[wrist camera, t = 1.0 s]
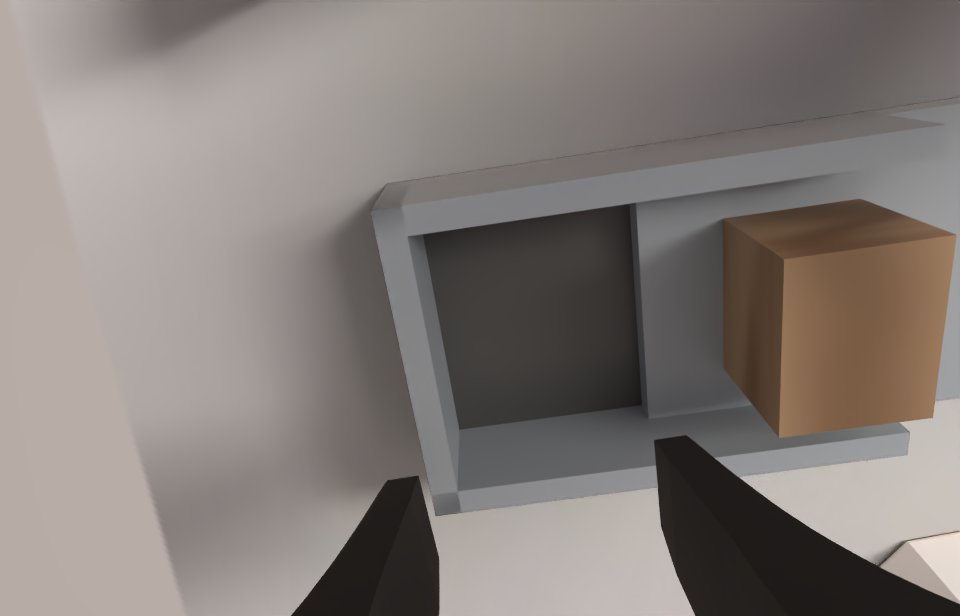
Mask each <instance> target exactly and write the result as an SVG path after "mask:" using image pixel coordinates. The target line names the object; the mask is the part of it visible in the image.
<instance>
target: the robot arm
mask: <svg viewBox="0 0 960 616" xmlns="http://www.w3.org/2000/svg"><path fill="white" fill-rule="evenodd" d="M654 447H655V459H656V471H657V483H658V495H659V507H660V519H661V527H662V531H663V534H664V537H665V540H666V543H667V546H668V549H669V553H670V556H671V559H672V562H673V565H674V567H675V570H676V573H677V576H678V578H679V581H680V583H681V585H682V587H683V590H684V592H685V594H686V596H687V598H688V600H689V603H690V605H691V607H692V609H693V611H694V614H695V616H960V604H959V603H956V602H954V601H952V600H949V599H947V598H945V597H942V596H940V595H938V594H935V593H933V592H931V591H929V590H926V589H924V588H922V587H920V586H918V585H916V584H914V583H912V582H910V581H907V580H905V579H903V578H901V577H899V576H897V575H895V574H893V573H890V572H888V571H886V570H884V569H882V568H881V567H879V566H877V565H875V564H873V563H871V562H869V561H867V560H865V559H863V558H861V557H860V556H858V555H856V554H854V553H852V552H851V551H849V550H847V549H845V548H843V547H842V546H840V545H838V544H836V543H835V542H833V541H831V540H829V539H828V538H826V537H824V536H823V535H821V534H819V533H818V532H816V531H814V530H813V529H811V528H809V527H808V526H806V525H805V524H803V523H802V522H800V521H799V520H797V519H796V518H794V517H793V516H791V515H790V514H788V513H787V512H785V511H784V510H782V509H781V508H779V507H778V506H777V505H775V504H774V503H772V502H771V501H770V500H768V499H767V498H766V497H764V496H763V495H762V494H760V493H759V492H757V491H756V490H755V489H753V488H752V487H751V486H749V485H748V484H747V483H745V482H744V481H743V480H742V479H740V478H739V477H738V476H736V475H735V474H734V473H733V472H731V471H730V470H729V469H728V468H726V467H725V466H724V465H723V464H721V463H720V462H719V461H718V460H717V459H715V458H714V457H713V456H712V455H710V454H709V453H708V452H707V451H706V450H704V449H703V448H702V447H701V446H700V445H698V444H697V443H696V442H695V441H694V440H692V439H691V438H690V437H688V436H687V435H683V436H676V437H670V438H663V439H657V440H654ZM291 616H439V556H438V552H437V548H436V544H435V540H434V536H433V532H432V528H431V524H430V520H429V516H428V512H427V508H426V504H425V500H424V496H423V492H422V488H421V484H420V480H419V476H413V477H407V478H400V479H394V480H388V481H387V482H386V483H385V485H384V486H383V487H382V489H381V490H380V492H379V493H378V495H377V497H376V498H375V500H374V501H373V503H372V505H371V506H370V508H369V509H368V511H367V513H366V514H365V516H364V517H363V519H362V520H361V522H360V523H359V525H358V526H357V528H356V530H355V531H354V533H353V534H352V535H351V537H350V538H349V540H348V541H347V543H346V544H345V546H344V547H343V549H342V550H341V551H340V553H339V554H338V556H337V557H336V559H335V560H334V562H333V563H332V564H331V566H330V567H329V568H328V570H327V571H326V572H325V574H324V575H323V576H322V577H321V579H320V580H319V581H318V583H317V584H316V585H315V587H314V588H313V589H312V591H311V592H310V593H309V594H308V596H307V597H306V598H305V599H304V601H303V602H302V603H301V604H300V606H299V607H298V608H297V609H296V610H295V612H294V613H293V614H292V615H291Z"/></svg>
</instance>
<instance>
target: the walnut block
mask: <svg viewBox="0 0 960 616" xmlns="http://www.w3.org/2000/svg"><path fill="white" fill-rule="evenodd" d="M956 237H957V235H956V234H953V233H951V232H948V231H945V230H943V229H940V228H937V227H935V226H932V225H929V224H927V223H924V222H922V221H919V220H916V219H914V218H911V217H908V216H906V215H903V214H900V213H898V212H895V211H892V210H890V209H887V208H884V207H882V206H879V205H876V204H874V203H871V202H868V201H866V200H863V199H854V200H847V201H840V202H833V203H827V204H820V205H813V206H806V207H799V208H792V209H785V210H779V211H772V212H765V213H758V214H751V215H744V216H738V217H731V218H724V219H723V326H724V370H725V371H726V372H727V373H728V375H729V376H730V377H731V378H732V380H733V381H734V382H735V383H736V385H737V386H738V387H739V388H740V390H741V391H742V392H743V393H744V395H745V396H746V397H747V398H748V400H749V401H750V402H751V403H752V405H753V406H754V407H755V408H756V410H757V411H758V412H759V413H760V415H761V416H762V417H763V418H764V420H765V421H766V422H767V423H768V425H769V426H770V427H771V428H772V430H773V431H774V432H775V433H776V435H777V436H778V437H779V438H782V437H790V436H797V435H805V434H813V433H820V432H828V431H835V430H843V429H851V428H858V427H866V426H873V425H881V424H889V423H896V422H904V421H911V420H919V419H927V418H933V412H934V404H935V397H936V389H937V382H938V374H939V366H940V359H941V351H942V343H943V336H944V328H945V321H946V313H947V305H948V298H949V290H950V283H951V275H952V267H953V260H954V252H955V244H956Z"/></svg>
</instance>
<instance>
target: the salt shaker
mask: <svg viewBox="0 0 960 616" xmlns="http://www.w3.org/2000/svg"><path fill="white" fill-rule="evenodd" d="M879 567H881V568H882V569H884V570H886V571H888V572H890V573H893V574H895V575H897V576H899V577H901V578H903V579H905V580H907V581H910V582H912V583H914V584H916V585H918V586H920V587H922V588H924V589H926V590H929V591H931V592H933V593H935V594H938V595H940V596H942V597H945V598H947V599H949V600H952V601H954V602H956V603H959V604H960V532H955V533H949V534H943V535H938V536H932V537H927V538H921V539H916V540H910V541H906V542H905V543H904V544H903V545H902V546H901V547H900V548H899V549H898V550H897V551H896V552H894V553H893V554H892V555H891V556H890V557H889V558H888V559H887V560H886V561H885V562H884V563H882V564H881V565H880V566H879Z"/></svg>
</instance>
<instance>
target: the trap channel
mask: <svg viewBox="0 0 960 616" xmlns="http://www.w3.org/2000/svg"><path fill="white" fill-rule="evenodd" d="M854 199H863V200H866V201H868V202H871V203H874V204H876V205H879V206H882V207H884V208H887V209H890V210H892V211H895V212H898V213H900V214H903V215H906V216H908V217H911V218H914V219H916V220H919V221H922V222H924V223H927V224H929V225H932V226H935V227H937V228H940V229H943V230H945V231H948V232H951V233H953V234H956V235H957V237H956V244H955V252H954V260H953V267H952V275H951V283H950V290H949V298H948V305H947V313H946V321H945V328H944V336H943V343H942V351H941V359H940V366H939V374H938V382H937V389H936V397H935V401H942V400H949V399H957V398H960V97H958V98H951V99H944V100H938V101H931V102H925V103H918V104H911V105H905V106H898V107H892V108H885V109H878V110H872V111H865V112H859V113H852V114H845V115H839V116H832V117H826V118H819V119H812V120H806V121H799V122H793V123H786V124H779V125H773V126H766V127H760V128H753V129H746V130H740V131H733V132H727V133H720V134H714V135H707V136H700V137H694V138H687V139H681V140H674V141H667V142H661V143H654V144H648V145H641V146H634V147H628V148H621V149H615V150H608V151H601V152H595V153H588V154H582V155H575V156H568V157H562V158H555V159H549V160H542V161H535V162H529V163H522V164H516V165H509V166H502V167H496V168H489V169H483V170H476V171H469V172H463V173H456V174H450V175H443V176H436V177H430V178H423V179H417V180H410V181H403V182H397V183H390V184H387V185H386V186H385V188H384V190H383V191H382V193H381V194H380V196H379V197H378V199H377V201H376V202H375V204H374V205H373V207H372V209H371V210H370V212H371V217H372V221H373V226H374V231H375V235H376V240H377V245H378V249H379V254H380V259H381V263H382V268H383V273H384V277H385V282H386V287H387V291H388V296H389V301H390V305H391V310H392V315H393V319H394V324H395V328H396V333H397V338H398V342H399V347H400V352H401V356H402V361H403V366H404V370H405V375H406V380H407V384H408V389H409V394H410V398H411V403H412V408H413V412H414V417H415V422H416V426H417V431H418V436H419V440H420V445H421V450H422V454H423V459H424V464H425V468H426V473H427V478H428V482H429V487H430V492H431V496H432V501H433V505H434V510H435V515H436V516H441V515H448V514H456V513H464V512H471V511H479V510H487V509H495V508H502V507H510V506H518V505H525V504H533V503H541V502H549V501H556V500H564V499H572V498H580V497H587V496H595V495H603V494H610V493H618V492H626V491H634V490H641V489H649V488H657V487H658V483H657V471H656V459H655V447H654V440H657V439H663V438H670V437H676V436H683V435H687V436H688V437H690V438H691V439H692V440H694V441H695V442H696V443H697V444H698V445H700V446H701V447H702V448H703V449H704V450H706V451H707V452H708V453H709V454H710V455H712V456H713V457H714V458H715V459H717V460H718V461H719V462H720V463H721V464H723V465H724V466H725V467H726V468H728V469H729V470H730V471H731V472H733V473H734V474H735V475H736V476H738V477H742V476H750V475H757V474H765V473H773V472H780V471H788V470H796V469H804V468H811V467H819V466H827V465H834V464H842V463H850V462H858V461H865V460H873V459H881V458H889V457H896V456H904V455H908V446H909V438H910V432H909V431H908V430H907V429H906V428H905V427H904V426H902V425H901V424H900V423H899V422H896V423H889V424H881V425H873V426H866V427H858V428H851V429H843V430H835V431H828V432H820V433H813V434H805V435H797V436H790V437H782V438H779V437H778V436H777V435H776V433H775V432H774V431H773V430H772V428H771V427H770V426H769V425H768V423H767V422H766V421H765V420H764V418H763V417H762V416H761V415H760V413H759V412H758V411H757V410H756V408H755V407H754V406H753V405H752V403H751V402H750V401H749V400H748V398H747V397H746V396H745V395H744V393H743V392H742V391H741V390H740V388H739V387H738V386H737V385H736V383H735V382H734V381H733V380H732V378H731V377H730V376H729V375H728V373H727V372H726V371H725V370H724V326H723V219H724V218H731V217H738V216H744V215H751V214H758V213H765V212H772V211H779V210H785V209H792V208H799V207H806V206H813V205H820V204H827V203H833V202H840V201H847V200H854Z"/></svg>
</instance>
